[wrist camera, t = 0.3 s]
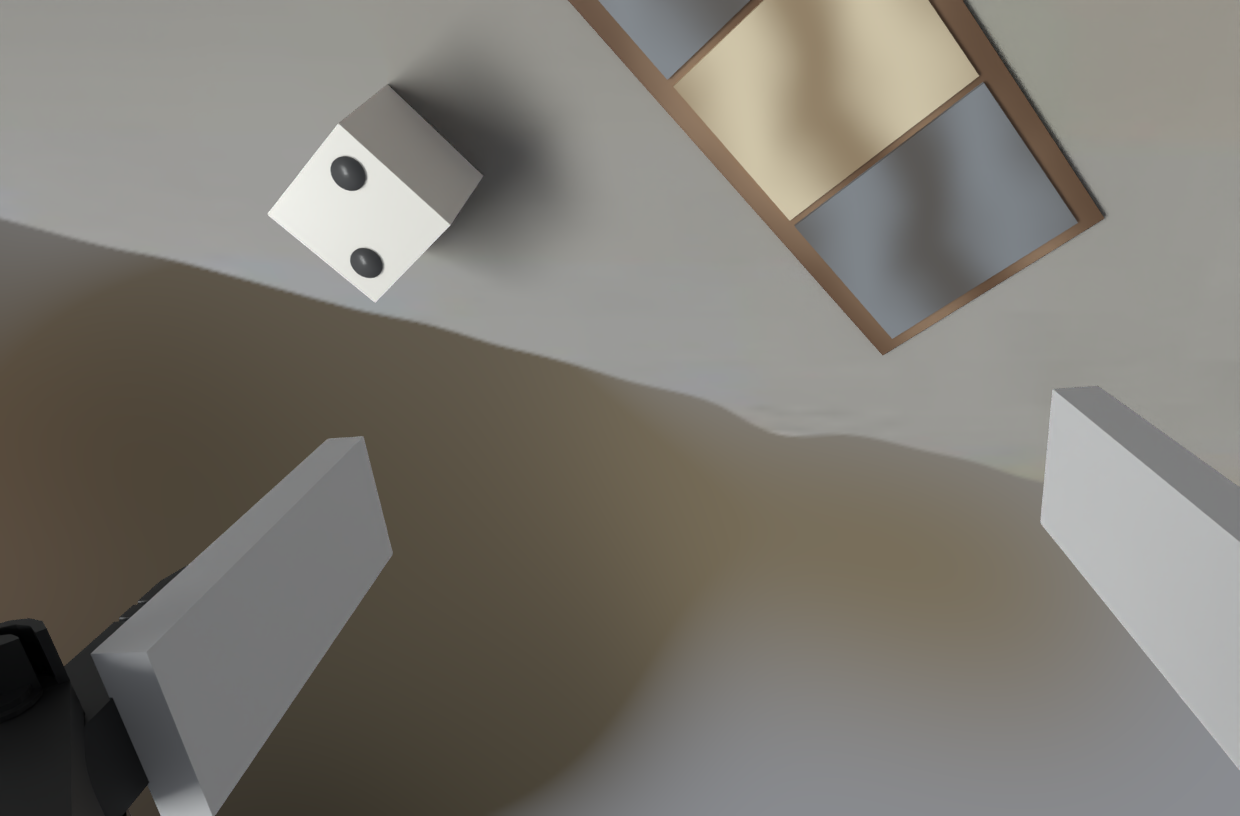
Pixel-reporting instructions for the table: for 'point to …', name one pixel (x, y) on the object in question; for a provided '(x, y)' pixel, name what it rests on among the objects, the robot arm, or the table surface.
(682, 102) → the board
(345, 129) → the die
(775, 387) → the table surface
